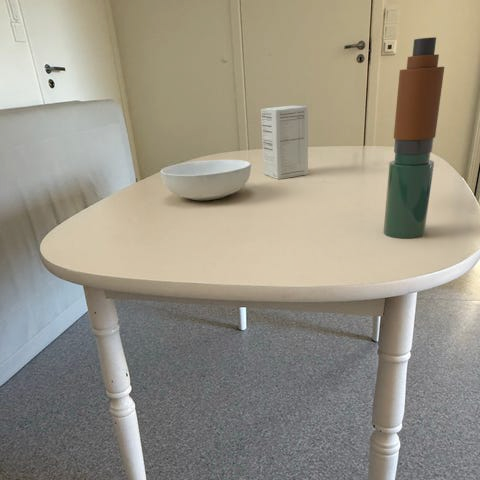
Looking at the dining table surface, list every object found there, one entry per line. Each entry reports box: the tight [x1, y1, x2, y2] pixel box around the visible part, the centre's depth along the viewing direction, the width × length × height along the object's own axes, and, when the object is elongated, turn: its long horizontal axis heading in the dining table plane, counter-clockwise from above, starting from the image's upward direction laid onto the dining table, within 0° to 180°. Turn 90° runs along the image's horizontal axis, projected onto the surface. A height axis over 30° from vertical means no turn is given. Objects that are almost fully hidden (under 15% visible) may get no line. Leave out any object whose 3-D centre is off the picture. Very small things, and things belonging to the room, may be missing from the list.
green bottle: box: [382, 138, 435, 239], centre depth 70 cm, size 6×6×14 cm
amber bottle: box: [393, 36, 445, 140], centre depth 63 cm, size 6×6×12 cm
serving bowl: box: [160, 159, 252, 202], centre depth 104 cm, size 21×21×7 cm
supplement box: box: [260, 105, 309, 180], centre depth 118 cm, size 10×9×17 cm
